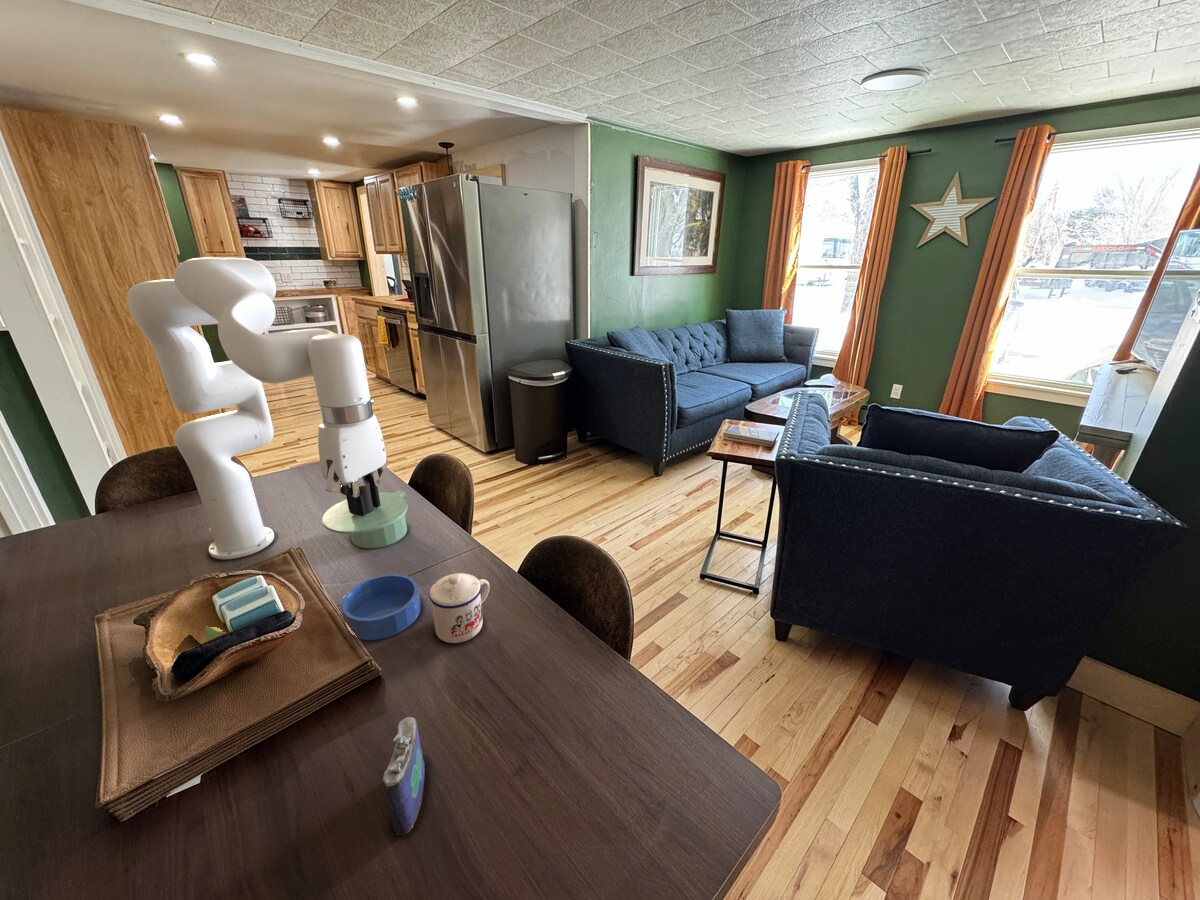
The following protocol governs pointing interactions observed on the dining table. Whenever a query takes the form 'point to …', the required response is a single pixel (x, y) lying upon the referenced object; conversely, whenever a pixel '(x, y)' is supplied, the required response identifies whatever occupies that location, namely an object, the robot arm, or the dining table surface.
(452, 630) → the teacup with lid
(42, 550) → the dining table surface
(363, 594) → the bowl
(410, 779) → the flask
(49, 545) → the dining table surface
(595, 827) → the dining table surface
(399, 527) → the pot
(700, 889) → the dining table surface
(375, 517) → the lid
